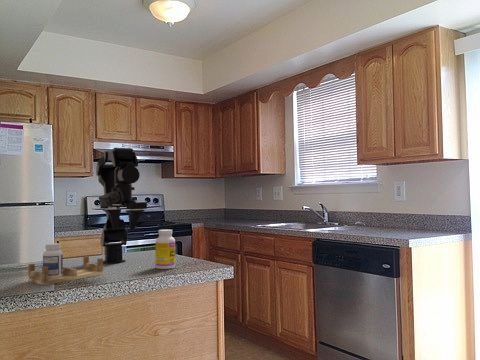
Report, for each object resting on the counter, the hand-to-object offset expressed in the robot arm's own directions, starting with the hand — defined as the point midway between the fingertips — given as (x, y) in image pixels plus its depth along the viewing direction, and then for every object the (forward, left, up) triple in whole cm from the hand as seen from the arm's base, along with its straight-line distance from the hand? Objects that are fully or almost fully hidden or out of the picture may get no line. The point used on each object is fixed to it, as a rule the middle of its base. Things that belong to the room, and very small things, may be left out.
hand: (123, 230), depth 145 cm
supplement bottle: (+11, +9, -13) cm, 19 cm away
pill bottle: (-1, -24, -12) cm, 27 cm away
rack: (-1, -20, -13) cm, 24 cm away
